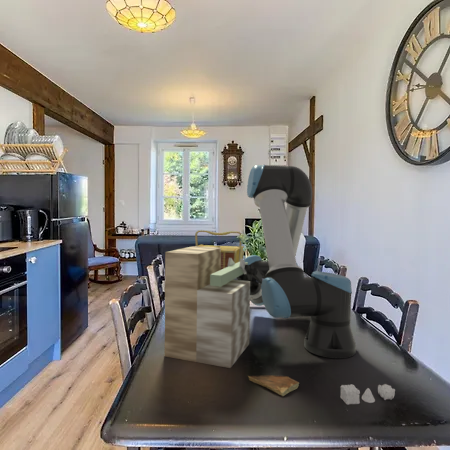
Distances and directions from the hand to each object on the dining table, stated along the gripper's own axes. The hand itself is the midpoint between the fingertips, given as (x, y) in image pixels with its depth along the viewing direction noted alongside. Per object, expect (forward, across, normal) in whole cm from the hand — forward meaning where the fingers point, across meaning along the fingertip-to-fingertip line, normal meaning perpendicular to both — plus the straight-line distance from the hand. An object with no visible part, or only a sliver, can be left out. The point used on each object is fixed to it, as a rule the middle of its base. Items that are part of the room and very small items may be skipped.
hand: (235, 262), depth 109 cm
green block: (+1, 0, -6) cm, 6 cm away
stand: (-5, +5, -27) cm, 28 cm away
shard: (+7, -18, -34) cm, 40 cm away
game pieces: (+5, -39, -33) cm, 51 cm away
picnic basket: (-90, +40, +22) cm, 101 cm away
